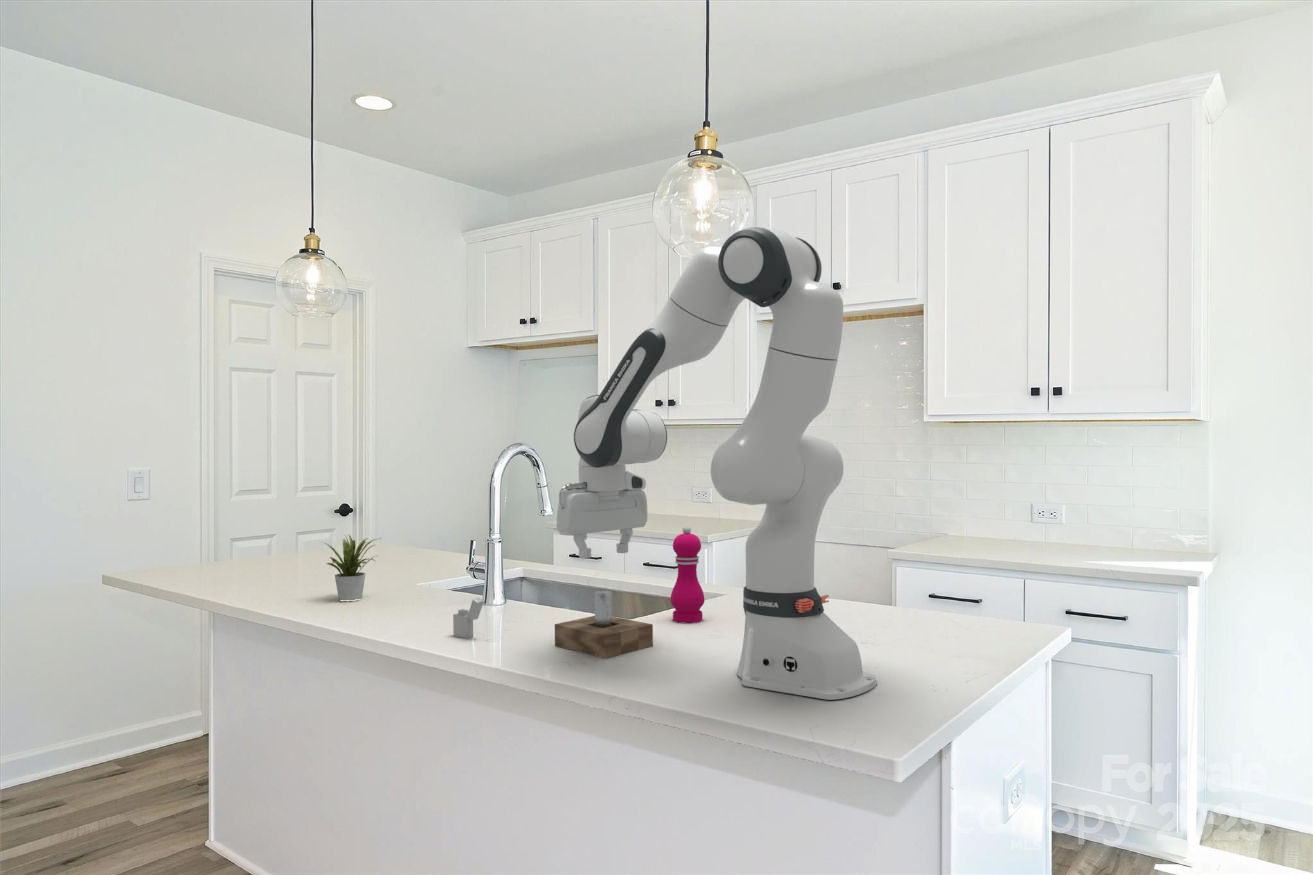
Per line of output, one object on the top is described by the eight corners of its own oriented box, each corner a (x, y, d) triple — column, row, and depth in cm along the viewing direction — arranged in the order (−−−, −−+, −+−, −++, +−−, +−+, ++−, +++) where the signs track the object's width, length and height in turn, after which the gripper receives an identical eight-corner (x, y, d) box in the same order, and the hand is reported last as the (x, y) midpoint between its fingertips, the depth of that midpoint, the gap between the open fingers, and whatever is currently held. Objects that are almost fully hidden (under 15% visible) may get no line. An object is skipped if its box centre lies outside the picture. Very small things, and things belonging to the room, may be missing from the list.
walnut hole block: (652, 645, 160) (652, 624, 160) (605, 658, 151) (605, 635, 151) (602, 634, 170) (601, 614, 170) (554, 645, 161) (554, 624, 161)
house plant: (398, 598, 211) (397, 531, 211) (351, 607, 199) (350, 537, 199) (359, 592, 218) (359, 528, 218) (312, 602, 207) (311, 534, 207)
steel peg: (615, 645, 161) (615, 592, 161) (603, 648, 158) (602, 594, 158) (604, 642, 163) (603, 590, 163) (591, 645, 161) (591, 592, 161)
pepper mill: (705, 616, 185) (704, 524, 185) (704, 623, 178) (703, 527, 178) (672, 616, 186) (671, 524, 186) (669, 623, 179) (668, 527, 179)
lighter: (452, 636, 170) (452, 595, 170) (459, 634, 171) (459, 594, 171) (477, 640, 166) (477, 599, 166) (484, 638, 167) (484, 597, 167)
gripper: (570, 484, 151) (572, 562, 151) (651, 479, 166) (653, 551, 165) (548, 483, 155) (550, 560, 155) (629, 479, 170) (630, 549, 170)
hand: (604, 555), depth 160 cm, fingers open, 8 cm apart
